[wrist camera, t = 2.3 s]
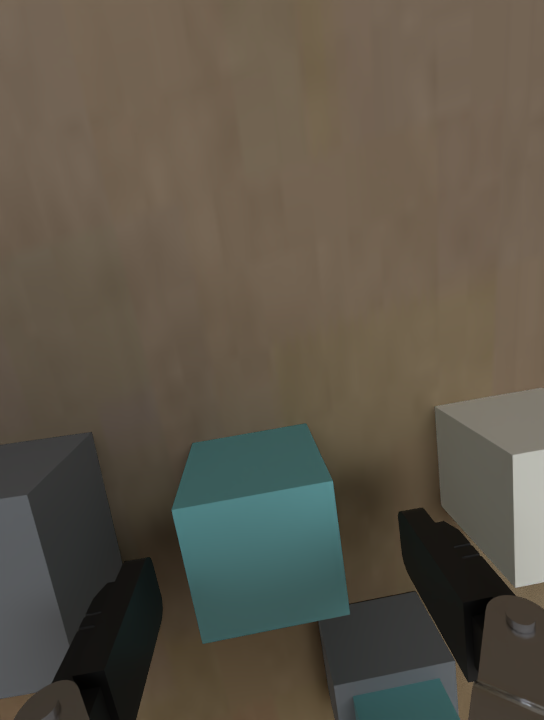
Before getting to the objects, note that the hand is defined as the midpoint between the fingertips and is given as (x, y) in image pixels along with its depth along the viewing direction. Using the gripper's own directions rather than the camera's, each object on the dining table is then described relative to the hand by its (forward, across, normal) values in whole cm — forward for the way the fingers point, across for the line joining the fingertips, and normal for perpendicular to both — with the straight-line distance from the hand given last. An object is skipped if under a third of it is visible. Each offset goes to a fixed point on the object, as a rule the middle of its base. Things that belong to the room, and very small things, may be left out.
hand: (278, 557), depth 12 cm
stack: (+5, -4, +10) cm, 12 cm away
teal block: (+5, 0, 0) cm, 5 cm away
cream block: (+5, -10, 0) cm, 12 cm away
